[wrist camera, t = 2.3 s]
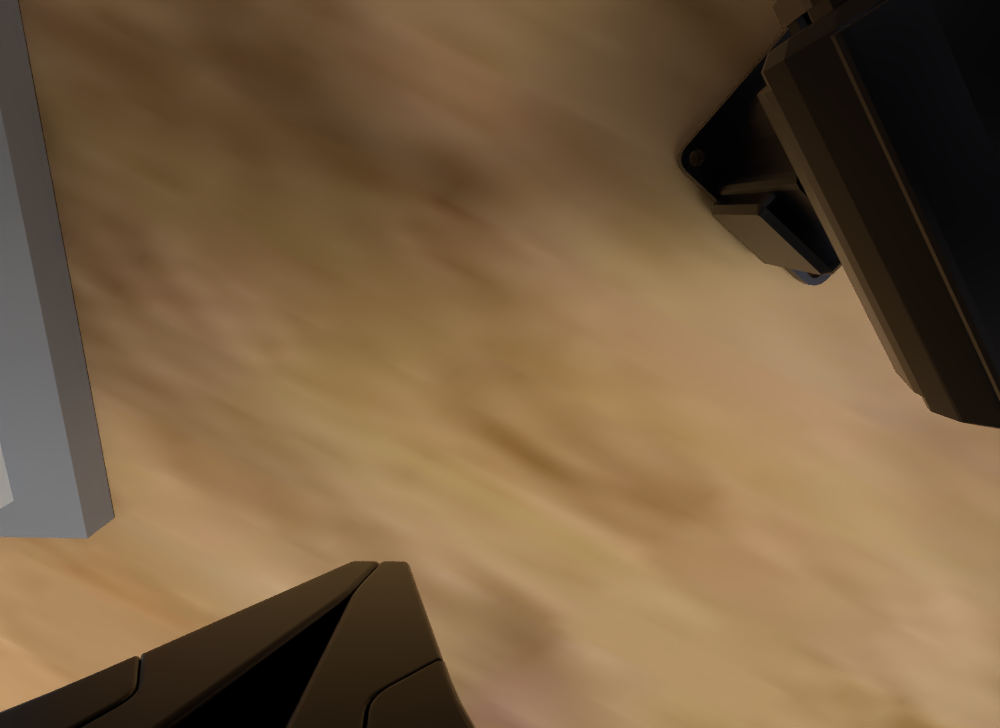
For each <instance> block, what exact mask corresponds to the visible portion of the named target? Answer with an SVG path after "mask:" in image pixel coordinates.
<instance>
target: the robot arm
mask: <svg viewBox="0 0 1000 728" xmlns="http://www.w3.org/2000/svg"><path fill="white" fill-rule="evenodd" d="M773 8H774V10H775V12H776V14H777V17H778V19H779V21H780V23H781V25H782V27H783V29H784V28H785V27H787V26H788V28H787V29H786V30H785V31H784V32H783V33H782V35H781V36H780V37H779V38H778V39H777V40H776V41H775V43H774V44H773V45H772V46H771V47H770V48H769V49H768V51H767V52H766V53H765V54H764V55H763V56H762V58H761V59H760V60H759V61H758V62H757V63H756V64H755V66H754V67H753V68H752V69H751V70H750V71H749V72H748V74H747V75H746V76H745V77H744V78H743V79H742V80H741V82H740V83H739V84H738V85H737V86H736V87H735V88H734V90H733V91H732V92H731V93H730V94H729V95H728V96H727V98H726V99H725V100H724V101H723V102H722V103H721V105H720V106H719V107H718V108H717V109H716V110H715V111H714V113H713V114H712V115H711V116H710V117H709V118H708V119H707V121H706V122H705V123H704V124H703V125H702V126H701V127H700V129H699V130H698V131H697V132H696V133H695V134H694V135H693V137H692V138H691V139H690V140H689V141H688V142H687V143H686V145H685V146H684V147H683V148H682V150H681V151H680V153H679V155H678V165H679V168H680V169H681V170H682V172H683V173H684V174H685V175H687V176H688V177H689V178H690V179H691V180H692V181H693V182H694V183H695V184H696V185H697V186H698V187H699V188H700V189H702V190H703V191H704V192H705V193H706V194H707V195H708V196H709V197H710V198H711V199H712V200H713V201H714V202H715V203H714V204H713V205H712V215H713V216H714V217H715V218H716V219H717V220H718V221H719V222H720V223H721V224H722V225H723V226H724V227H726V228H727V229H728V230H729V231H730V232H731V233H732V234H733V235H734V236H735V237H736V238H737V239H738V240H740V241H741V242H742V243H743V244H744V245H745V246H746V247H747V248H748V249H749V250H750V251H751V252H752V253H753V254H755V255H756V256H757V257H758V258H759V259H760V260H761V261H762V262H763V263H766V264H771V265H775V266H780V267H785V268H786V269H787V270H788V271H789V272H790V273H791V274H792V275H793V276H794V277H795V278H797V279H798V280H799V281H800V282H802V283H804V284H808V285H818V284H821V283H823V282H824V281H825V280H827V279H828V278H829V277H830V276H831V275H832V274H833V273H834V272H835V271H836V270H837V269H838V268H839V267H840V266H841V265H842V266H843V268H844V270H845V272H846V274H847V276H848V278H849V280H850V282H851V284H852V286H853V288H854V290H855V292H856V294H857V296H858V298H859V300H860V302H861V303H862V305H863V307H864V309H865V311H866V313H867V315H868V317H869V319H870V321H871V323H872V325H873V327H874V329H875V331H876V333H877V335H878V337H879V339H880V341H881V343H882V345H883V347H884V349H885V351H886V353H887V355H888V357H889V359H890V361H891V363H892V365H893V367H894V369H895V371H896V373H897V374H898V375H899V376H900V377H901V378H902V379H903V380H904V382H905V383H906V384H907V385H908V386H909V387H910V388H911V389H912V390H913V391H914V392H915V393H917V394H919V395H920V396H922V398H923V400H924V402H925V404H926V406H927V408H928V409H929V410H930V411H931V412H934V413H937V414H940V415H942V416H945V417H948V418H951V419H954V420H956V421H959V422H963V423H968V424H973V425H978V426H985V427H991V428H998V429H1000V0H778V1H777V2H776V3H775V5H774V6H773ZM692 151H697V152H699V154H700V155H701V161H700V163H699V165H697V166H693V165H691V164H690V162H689V155H690V153H691V152H692ZM808 273H813V274H815V275H813V276H811V277H810V276H809V274H808ZM0 728H475V726H474V724H473V723H472V721H471V719H470V717H469V716H468V714H467V712H466V710H465V709H464V707H463V705H462V703H461V701H460V699H459V697H458V694H457V692H456V690H455V688H454V685H453V683H452V681H451V678H450V676H449V673H448V670H447V667H446V665H445V663H444V661H443V658H442V656H441V653H440V650H439V647H438V644H437V642H436V639H435V636H434V633H433V630H432V628H431V625H430V622H429V619H428V616H427V614H426V611H425V608H424V605H423V603H422V600H421V597H420V594H419V591H418V589H417V586H416V583H415V580H414V577H413V575H412V572H411V569H410V566H409V564H408V563H407V562H395V561H384V562H382V563H380V564H379V563H378V562H375V561H354V562H350V563H348V564H346V565H343V566H341V567H339V568H337V569H334V570H332V571H330V572H327V573H325V574H323V575H321V576H318V577H316V578H314V579H312V580H309V581H307V582H305V583H302V584H300V585H298V586H296V587H293V588H291V589H289V590H287V591H284V592H282V593H280V594H278V595H275V596H273V597H271V598H268V599H266V600H264V601H262V602H259V603H257V604H255V605H253V606H250V607H248V608H246V609H243V610H241V611H239V612H237V613H234V614H232V615H230V616H228V617H225V618H223V619H221V620H219V621H216V622H214V623H212V624H209V625H207V626H205V627H203V628H200V629H198V630H196V631H194V632H191V633H189V634H187V635H184V636H182V637H180V638H178V639H175V640H173V641H171V642H169V643H166V644H164V645H162V646H159V647H157V648H155V649H153V650H150V651H148V652H146V653H144V654H142V655H141V658H139V657H138V656H134V657H132V658H129V659H127V660H125V661H123V662H120V663H118V664H116V665H113V666H111V667H109V668H107V669H104V670H102V671H100V672H97V673H95V674H93V675H90V676H88V677H85V678H83V679H81V680H78V681H76V682H74V683H71V684H69V685H67V686H64V687H62V688H59V689H57V690H55V691H52V692H50V693H47V694H45V695H42V696H40V697H37V698H35V699H32V700H30V701H27V702H25V703H22V704H20V705H17V706H15V707H12V708H10V709H7V710H5V711H2V712H0Z"/></svg>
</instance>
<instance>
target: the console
mask: <svg viewBox="0 0 1000 728" xmlns="http://www.w3.org/2000/svg"><path fill="white" fill-rule="evenodd" d="M112 519H114V513H113V508H112V503H111V497H110V492H109V486H108V481H107V476H106V470H105V465H104V460H103V454H102V449H101V444H100V438H99V433H98V427H97V422H96V417H95V411H94V406H93V401H92V395H91V390H90V385H89V379H88V374H87V369H86V363H85V358H84V352H83V347H82V342H81V336H80V331H79V326H78V320H77V315H76V310H75V304H74V299H73V294H72V288H71V283H70V277H69V272H68V267H67V261H66V256H65V251H64V245H63V240H62V235H61V229H60V224H59V218H58V213H57V208H56V202H55V197H54V192H53V186H52V181H51V176H50V170H49V165H48V160H47V154H46V149H45V143H44V138H43V133H42V127H41V122H40V117H39V111H38V106H37V101H36V95H35V90H34V84H33V79H32V74H31V68H30V63H29V58H28V52H27V47H26V42H25V36H24V31H23V26H22V20H21V15H20V9H19V4H18V0H0V537H38V538H89V537H90V536H91V535H93V534H94V533H95V532H96V531H98V530H99V529H100V528H102V527H103V526H104V525H106V524H107V523H108V522H110V521H111V520H112Z"/></svg>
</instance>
